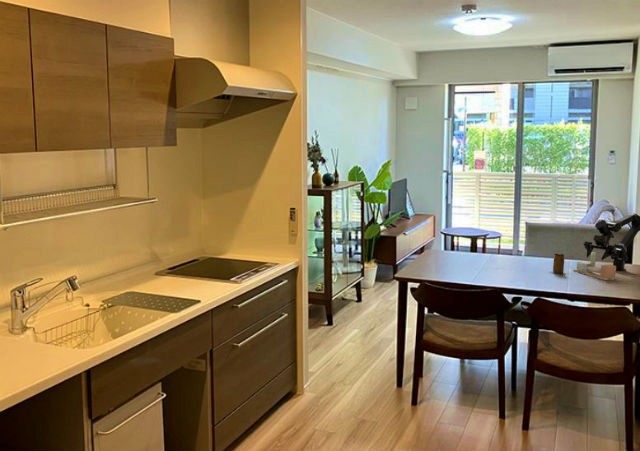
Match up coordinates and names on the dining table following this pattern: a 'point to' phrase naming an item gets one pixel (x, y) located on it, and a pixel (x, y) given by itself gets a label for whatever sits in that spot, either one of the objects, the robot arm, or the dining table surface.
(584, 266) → the sleeve
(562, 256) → the condiment
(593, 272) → the base rail
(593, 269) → the beige cradle bracket
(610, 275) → the socket
